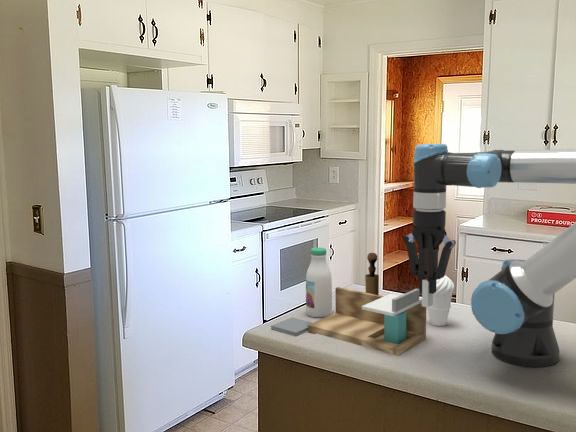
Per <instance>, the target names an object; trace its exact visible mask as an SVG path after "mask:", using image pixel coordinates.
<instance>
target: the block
mask: <svg viewBox="0 0 576 432" xmlns="http://www.w3.org/2000/svg"><path fill="white" fill-rule="evenodd" d="M384 341H386V342H390V343H394V344H398V345H399V344H400V343H402V342H404V341H406V312H405V311H403V312H401V313H399V314H397V315H395V316H389V315H385V314H384Z"/></svg>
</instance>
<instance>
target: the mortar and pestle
mask: <svg viewBox="0 0 576 432" xmlns="http://www.w3.org/2000/svg"><path fill="white" fill-rule="evenodd" d="M366 258H367V261H368V263H369V267H367V268H368V274H365V279H364V280H365V293H370V294H375V295H379V296H380V294H379V293H380V292H379V289H380V287H379V286H380V285H379V283H380V282H379V281H380V280H379V277H380V275H379V274H376V270H377V267H376V266H375V265H376V263H377V262H378V261H377V260H378V255H377V253H376V252H369V253H368V254H367V256H366Z"/></svg>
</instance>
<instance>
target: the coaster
mask: <svg viewBox="0 0 576 432" xmlns="http://www.w3.org/2000/svg"><path fill="white" fill-rule="evenodd" d="M311 323H313V321H308V320H305V319H304V320H303V319H300V318H297V317H293V316H292V317H289V318H287V319H284V320H281V321H278V322H277V323H274V324H272V325H270V328H271V330H274V331H277V332H280V333H284V334H287V335H291V336H294V337H298V336H301V335H302V334H304V333H306V332H308V325H309V324H311Z"/></svg>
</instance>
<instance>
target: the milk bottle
mask: <svg viewBox="0 0 576 432" xmlns="http://www.w3.org/2000/svg"><path fill="white" fill-rule="evenodd" d="M310 256H311V260H310V263H309V266H308V267H307V270H306V275H305V307H306V308H305V313H306V314H307V316H309V317H313V318H325V317H328V316H330V315H332V314H333V290H332V288H333V286H332V285H333V283H332V282H333V281H332V272H331V270H330V266H329V265H328V263H327V259H326V257H327V249H326V248H325V247H312V248H311V249H310Z"/></svg>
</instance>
